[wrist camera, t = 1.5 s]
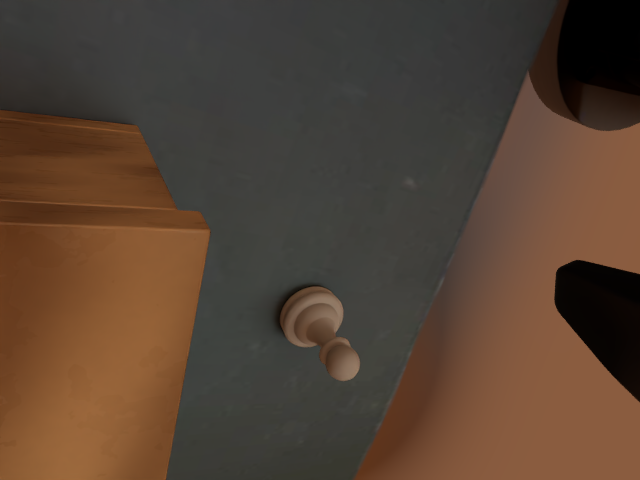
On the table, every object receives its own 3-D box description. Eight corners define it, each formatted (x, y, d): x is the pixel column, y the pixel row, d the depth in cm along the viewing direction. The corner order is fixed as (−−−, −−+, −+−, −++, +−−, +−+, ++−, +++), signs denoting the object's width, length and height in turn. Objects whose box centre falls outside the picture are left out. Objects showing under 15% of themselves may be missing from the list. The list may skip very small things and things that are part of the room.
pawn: (282, 345, 24) (321, 413, 21) (273, 297, 23) (312, 361, 20) (339, 324, 25) (384, 386, 22) (333, 275, 24) (380, 334, 20)
